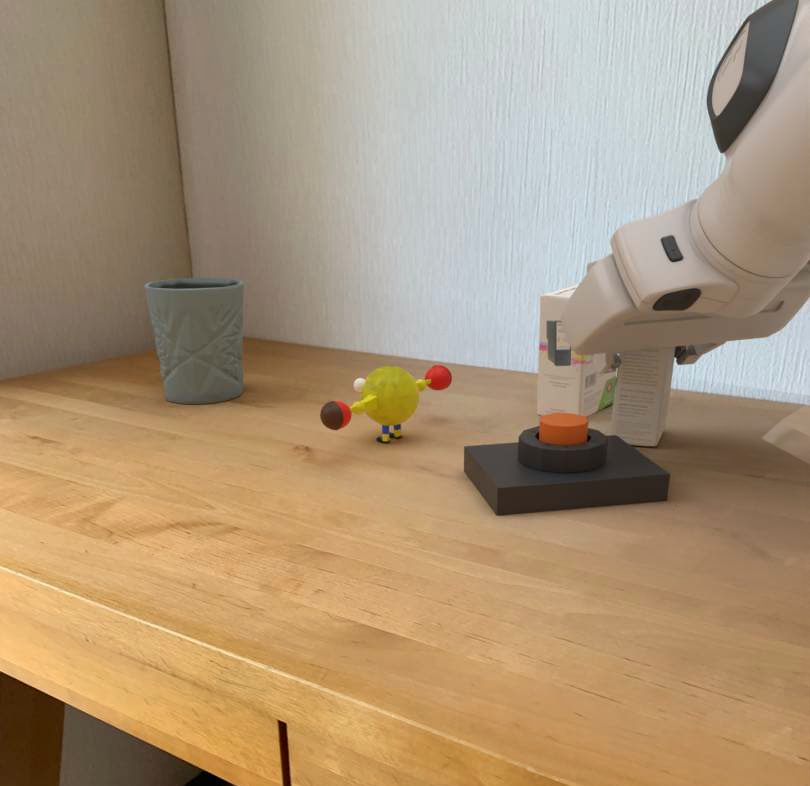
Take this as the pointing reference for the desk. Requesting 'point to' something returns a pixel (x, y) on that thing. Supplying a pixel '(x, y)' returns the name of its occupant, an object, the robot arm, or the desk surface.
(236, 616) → the desk surface
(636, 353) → the cosmetic box
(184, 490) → the desk surface
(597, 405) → the ink box
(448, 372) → the toy figure
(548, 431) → the button
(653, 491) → the black button base
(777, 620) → the desk surface
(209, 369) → the drinking glass
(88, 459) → the desk surface
